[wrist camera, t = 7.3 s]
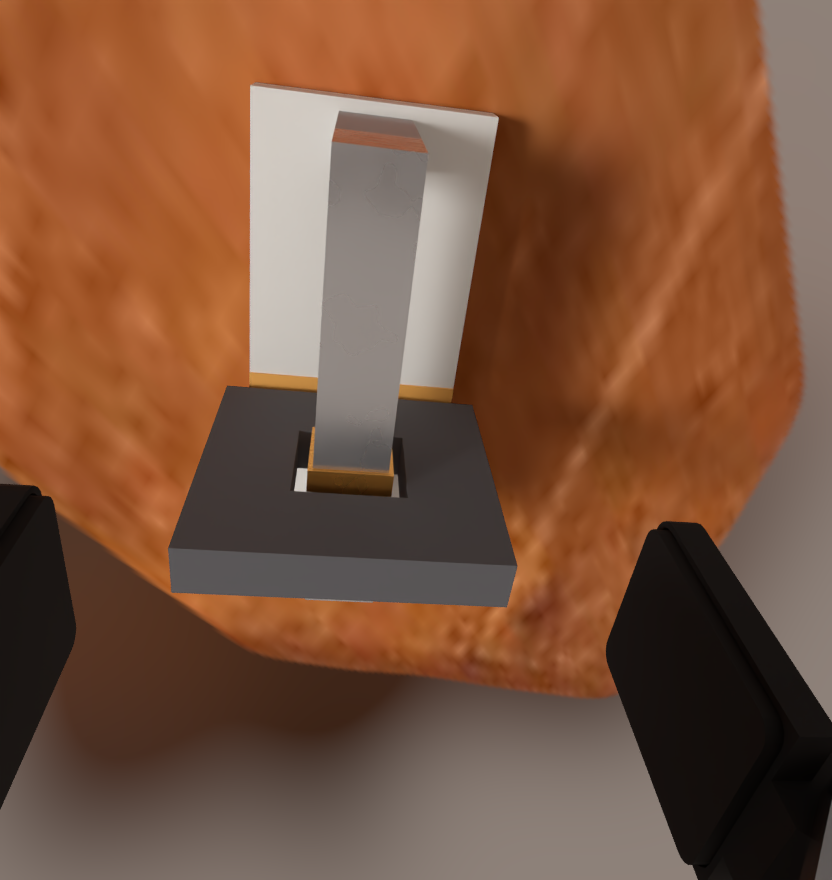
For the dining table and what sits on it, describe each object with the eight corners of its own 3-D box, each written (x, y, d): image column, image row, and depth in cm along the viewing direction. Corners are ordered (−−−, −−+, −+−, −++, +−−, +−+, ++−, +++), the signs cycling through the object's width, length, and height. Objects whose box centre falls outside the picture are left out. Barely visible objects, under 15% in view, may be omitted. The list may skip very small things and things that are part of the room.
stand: (255, 82, 29) (229, 98, 23) (493, 113, 30) (522, 135, 24) (253, 481, 39) (235, 559, 33) (430, 492, 40) (441, 569, 35)
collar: (227, 385, 34) (168, 547, 23) (472, 405, 35) (517, 566, 25) (227, 421, 35) (171, 592, 24) (465, 439, 36) (506, 607, 26)
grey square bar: (329, 126, 24) (324, 141, 21) (427, 138, 25) (435, 155, 22) (305, 552, 34) (300, 602, 31) (375, 555, 34) (377, 605, 31)
